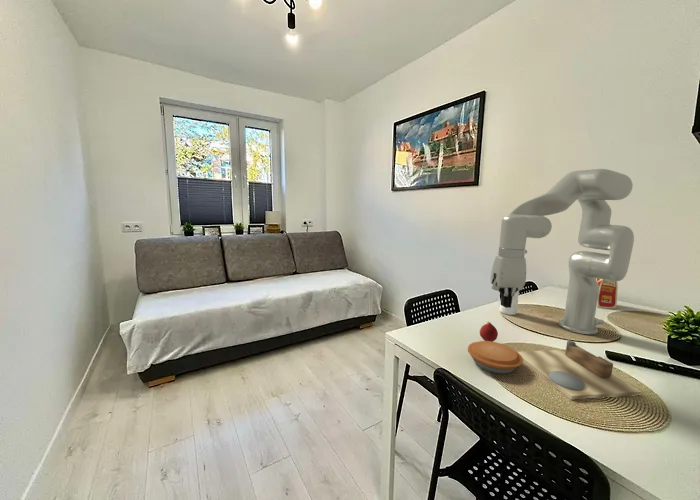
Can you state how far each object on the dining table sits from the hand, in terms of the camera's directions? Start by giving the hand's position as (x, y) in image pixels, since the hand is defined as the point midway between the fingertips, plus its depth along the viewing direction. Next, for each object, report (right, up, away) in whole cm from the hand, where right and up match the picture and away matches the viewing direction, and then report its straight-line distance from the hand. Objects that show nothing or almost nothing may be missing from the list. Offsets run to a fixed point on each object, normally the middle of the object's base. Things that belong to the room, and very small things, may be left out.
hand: (505, 306), depth 98 cm
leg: (+19, -16, -10) cm, 27 cm away
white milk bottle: (+20, -10, +35) cm, 42 cm away
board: (+13, -18, -12) cm, 25 cm away
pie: (-8, -17, -7) cm, 20 cm away
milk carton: (+73, -9, +46) cm, 87 cm away
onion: (-3, -15, +6) cm, 16 cm away
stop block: (+21, -17, -13) cm, 30 cm away
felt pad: (+7, -17, -18) cm, 26 cm away
